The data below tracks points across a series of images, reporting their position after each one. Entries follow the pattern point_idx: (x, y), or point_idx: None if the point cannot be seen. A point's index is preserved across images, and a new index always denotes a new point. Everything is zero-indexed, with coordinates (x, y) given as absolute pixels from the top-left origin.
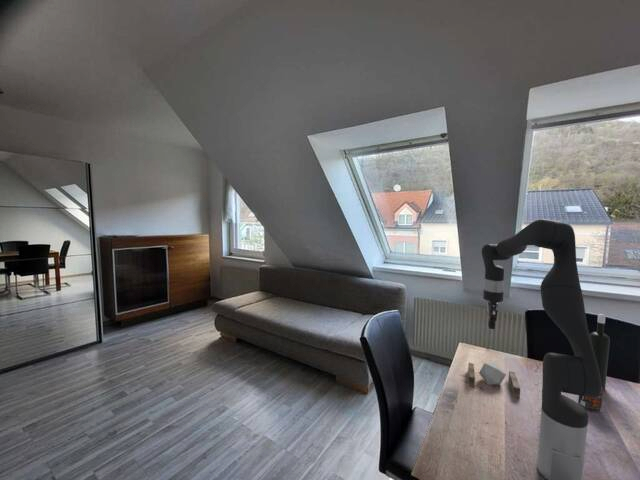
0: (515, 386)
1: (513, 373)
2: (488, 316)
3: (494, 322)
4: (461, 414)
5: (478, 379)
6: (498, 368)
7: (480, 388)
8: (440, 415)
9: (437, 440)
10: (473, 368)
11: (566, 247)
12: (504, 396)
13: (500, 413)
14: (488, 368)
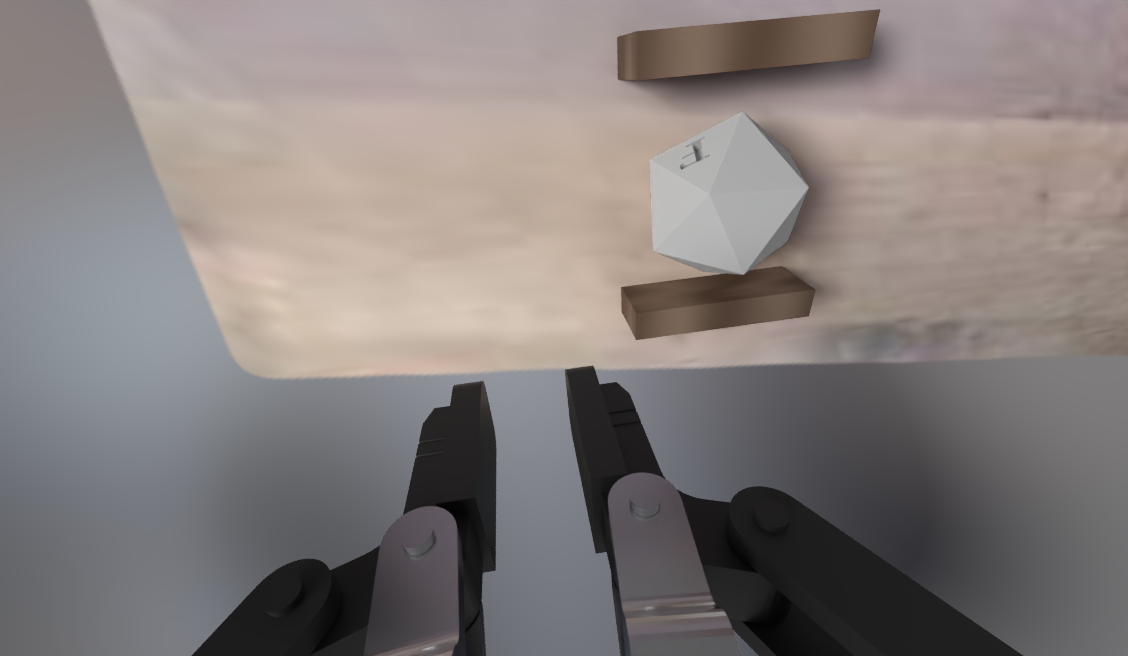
0: (858, 45)
1: (665, 45)
2: (482, 614)
3: (618, 456)
4: (991, 291)
5: None
6: (772, 176)
7: None
8: (999, 351)
9: (1119, 334)
10: (699, 308)
11: None
12: (824, 113)
13: (978, 138)
14: (776, 240)
